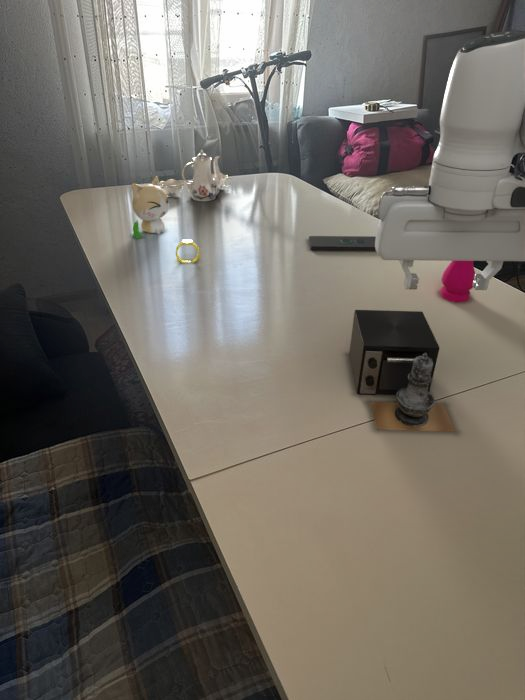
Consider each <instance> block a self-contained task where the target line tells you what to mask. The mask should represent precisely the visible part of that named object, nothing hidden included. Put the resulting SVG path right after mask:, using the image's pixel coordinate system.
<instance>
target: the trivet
mask: <svg viewBox="0 0 525 700" xmlns="http://www.w3.org/2000/svg"><path fill="white" fill-rule="evenodd" d="M370 406H371V409H372V414H373V419H374V424H375V428H376V430H386V431H414V432H415V431H417V432H421V431H422V432H445V433H446V432H448V433H449V432H450V433H456V430H455V427H454V425H453V422H452V420H451V418H450V416H449V413H448V411H447V408H446V405H445V403H435V404H434V406H433V407H432V408H431V409H430V411H429V412H428V413H427V414H428V416H429V420H428V422H427V423H426V424H425V425H423V426H420V427H413V426H408V425H405V424H403V423H401V422H400V421H399V420H398V419H397V418H396V416H395V410H396V409H397V407H399V405H398V402H389V401H388V402H387V401H386V402H384V401H370Z"/></svg>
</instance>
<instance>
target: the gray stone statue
mask: <svg viewBox="0 0 525 700" xmlns="http://www.w3.org/2000/svg"><path fill="white" fill-rule="evenodd" d="M432 368H433V361H432V360H431V359H430V358H429V357H427V353H424V354H423V356H418V357H416V358H415V359H414V362H413V366H412V371H411V373H409V374H408V379H409V383H408V387H404V388H402V389H400V390H399V391H398V392H397V394H396V395H395V398H396V401H397V403H398V405H399V407H397V409H396V410H395V416H396V418H397V419H398V420H399V421H400V422H401V423H403V424H405V425H408V426H413V427H420V426H423V425H425V424H426V423H427V422H428V420H429V416H428V414H427V413H428V412H429V411H430V409H431V408H432V407H433V406H434V404H436V399H435V397H434V395H433V394H431V392H430V391H429V392H428V387H429V384H431V385H432V383H433V378H431V372H432Z"/></svg>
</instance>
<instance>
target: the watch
mask: <svg viewBox="0 0 525 700" xmlns="http://www.w3.org/2000/svg"><path fill="white" fill-rule="evenodd" d="M182 246H193V247H194V248H195V249H196V251H197V255H196V257H195V258H194V259H192V261H191V260H188V259H187V260H184V259H182V258H181V257H180V256H179V254H178V252H179V251H178V250H179V249H180V247H182ZM175 257H176V259H177V260H178V262H180V263H181V264H187V263H188V264H189V263H196V262H197V261H198V260H199V258H200V249H199V246H198V245H197V244H196V243H195V242H194V240H193V239H191V238H185V239H182V240H181V242H180V243H178V245H177V246H176V248H175Z"/></svg>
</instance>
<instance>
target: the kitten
mask: <svg viewBox="0 0 525 700" xmlns="http://www.w3.org/2000/svg"><path fill="white" fill-rule="evenodd" d="M131 191H132V203H131V204H132V210H133V212H134V214H135V215H136V217H137V218H139V220H142V222H141V225H140V226H141V227H139V220H136V221H134V223H133V226H132V232H133V235H132V236H133V237H134V238H136V239H141V238H142V233H141V232H140V231H139V230H140V229H141V230H142V231H143V232H145V233H149V234H155V233H156V234H157V235H159V234H161V233H164V232H165V229H166V227H165V222H164V221H163V219H162V218H163V217H164V216H165V215H167V213H168V212H169V210H170V201H169V196H167V195H166V193H165V192H164V190H163V189H162V188H161V185H160V180H159V177H158V175H156V176H154V178H153V179H152V181H151V182H150V183H147V184H143V185H140V184H137V183H135V182H133V183H131ZM139 228H140V229H139Z"/></svg>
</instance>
